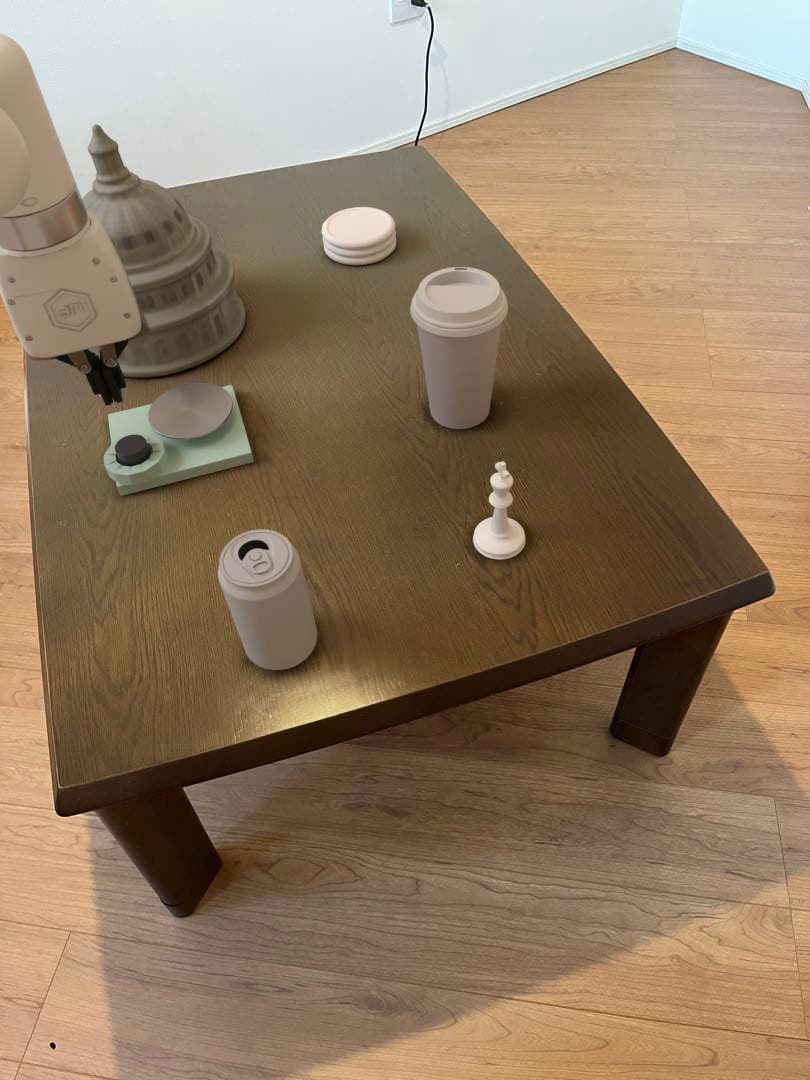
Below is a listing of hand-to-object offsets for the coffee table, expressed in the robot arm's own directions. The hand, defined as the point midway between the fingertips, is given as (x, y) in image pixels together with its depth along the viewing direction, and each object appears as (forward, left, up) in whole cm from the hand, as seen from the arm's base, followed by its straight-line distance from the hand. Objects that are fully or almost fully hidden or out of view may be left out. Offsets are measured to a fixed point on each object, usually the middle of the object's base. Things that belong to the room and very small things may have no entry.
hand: (113, 394), depth 80 cm
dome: (+5, +25, -11) cm, 28 cm away
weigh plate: (+6, +4, -7) cm, 10 cm away
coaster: (+33, +34, -11) cm, 49 cm away
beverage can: (+9, -26, -11) cm, 30 cm away
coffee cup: (+34, -3, -11) cm, 36 cm away
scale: (+4, +3, -10) cm, 12 cm away
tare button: (0, 0, -8) cm, 8 cm away
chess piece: (+31, -22, -11) cm, 39 cm away
